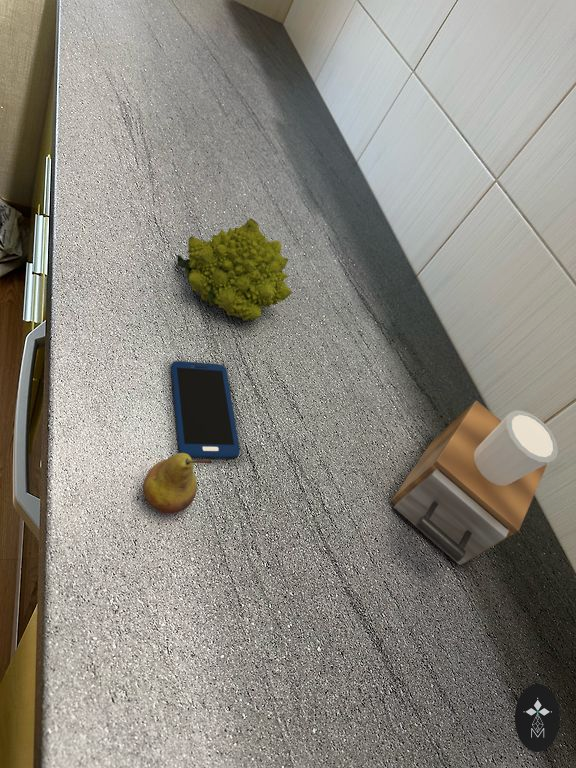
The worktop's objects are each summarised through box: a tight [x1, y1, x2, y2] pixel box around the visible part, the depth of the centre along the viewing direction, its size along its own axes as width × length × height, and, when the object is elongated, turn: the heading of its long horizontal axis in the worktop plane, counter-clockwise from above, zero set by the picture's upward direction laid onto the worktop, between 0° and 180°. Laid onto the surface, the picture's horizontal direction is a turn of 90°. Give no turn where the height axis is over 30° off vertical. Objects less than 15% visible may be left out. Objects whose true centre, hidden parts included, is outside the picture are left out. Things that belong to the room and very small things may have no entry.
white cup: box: [474, 409, 559, 486], centre depth 67 cm, size 7×7×7 cm
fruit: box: [142, 452, 213, 515], centre depth 58 cm, size 6×6×12 cm
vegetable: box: [176, 217, 293, 322], centre depth 82 cm, size 15×16×15 cm
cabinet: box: [390, 400, 549, 565], centre depth 74 cm, size 14×12×11 cm
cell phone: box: [170, 360, 241, 459], centre depth 71 cm, size 7×14×1 cm, turn 11°
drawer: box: [393, 469, 509, 566], centre depth 71 cm, size 17×11×9 cm, turn 143°
